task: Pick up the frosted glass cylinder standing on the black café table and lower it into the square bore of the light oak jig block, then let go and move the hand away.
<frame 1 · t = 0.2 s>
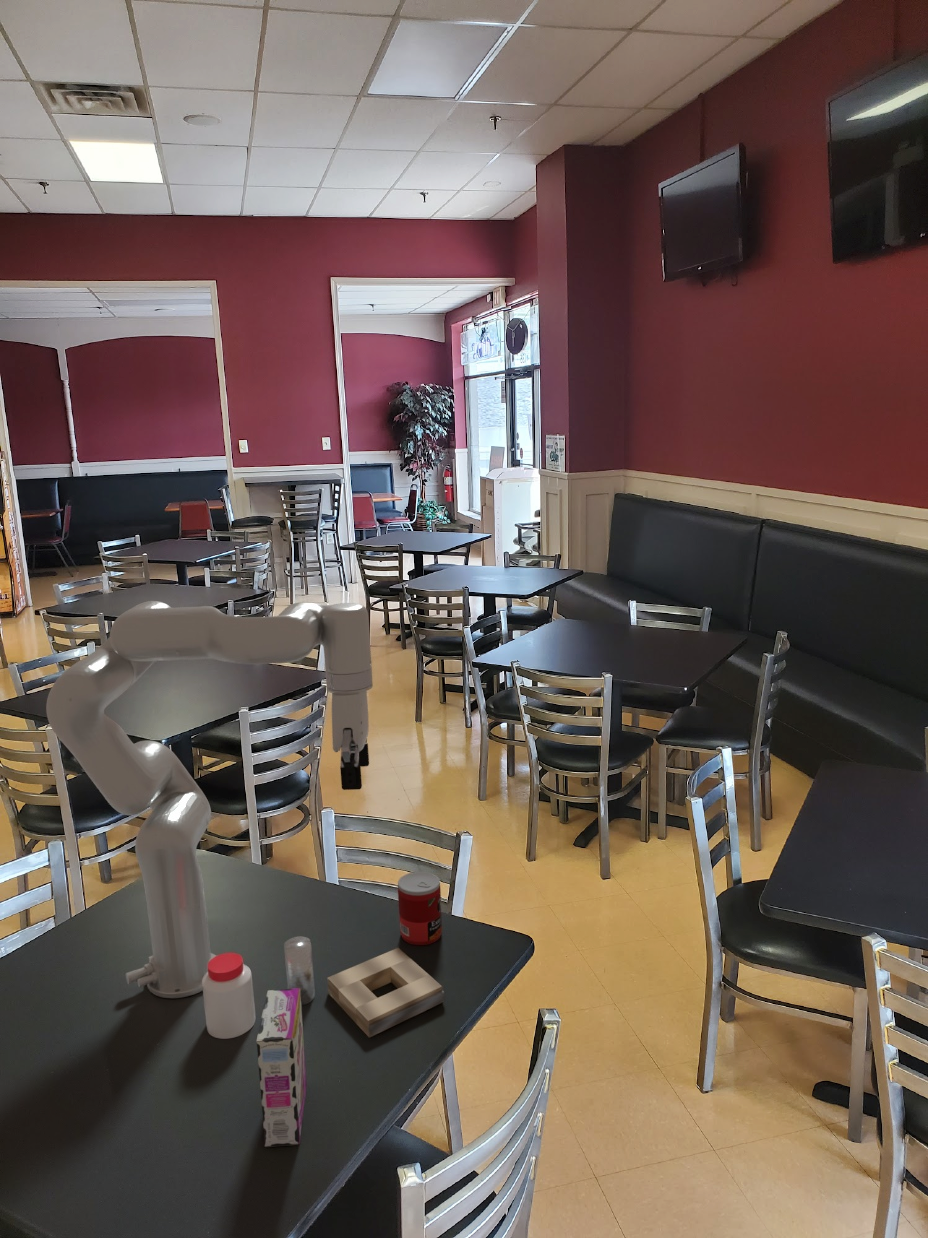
hand: (356, 777, 148), 36 cm above the table, tool pointing down, fingers open, 9 cm apart
pill bottle: (231, 1024, 143), on the table
jig: (385, 998, 148), on the table
frosted glass cylinder: (301, 997, 149), on the table
canned food: (421, 935, 166), on the table
candy bar box: (288, 1117, 123), on the table
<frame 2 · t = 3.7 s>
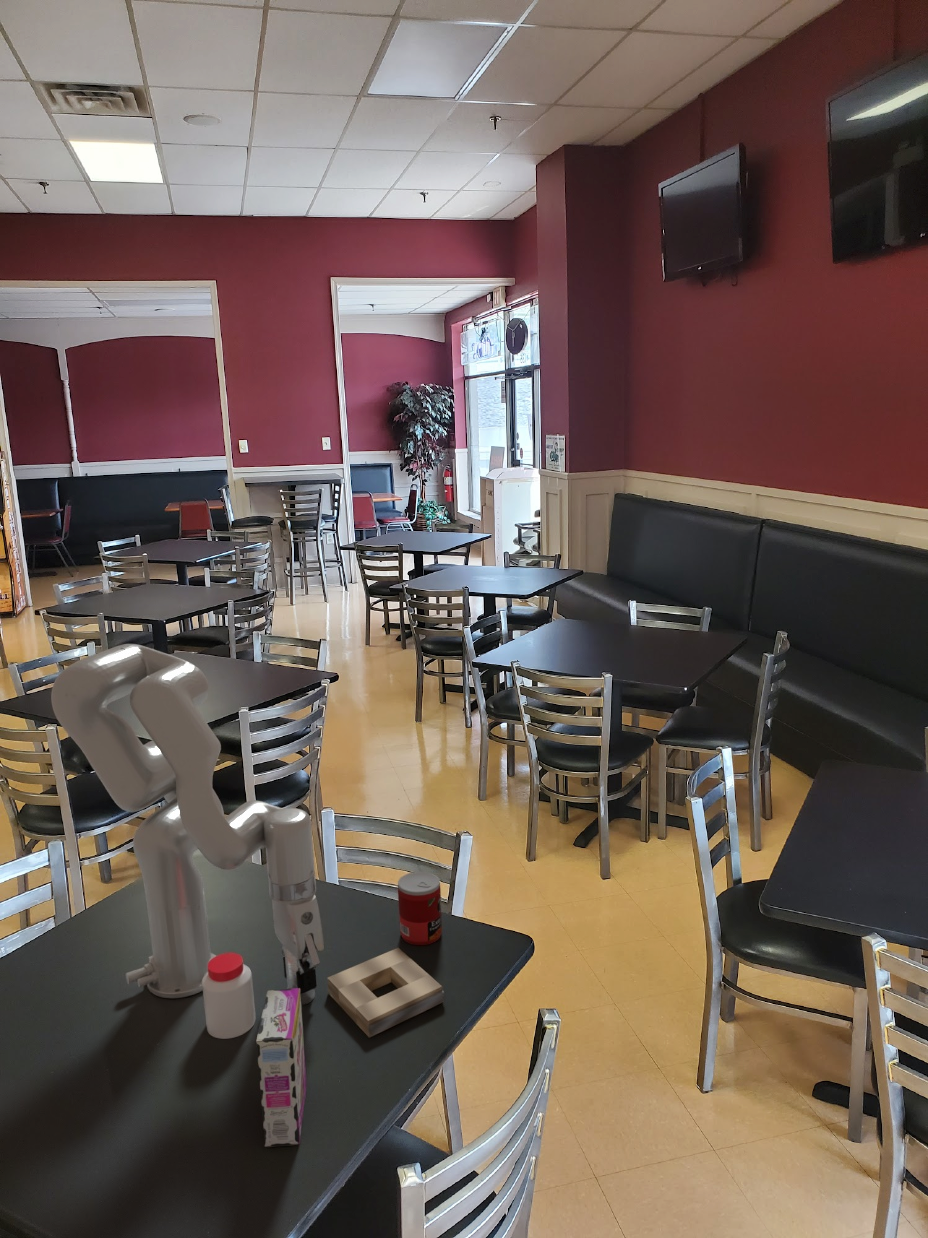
hand: (300, 982, 148), 3 cm above the table, tool pointing down, fingers closed on frosted glass cylinder, 4 cm apart
frosted glass cylinder: (301, 997, 149), on the table, touching gripper
everything else where it was.
when the fingers open (4 cm above the table, at t = 9.0 s): frosted glass cylinder stays where it is, resting in jig.
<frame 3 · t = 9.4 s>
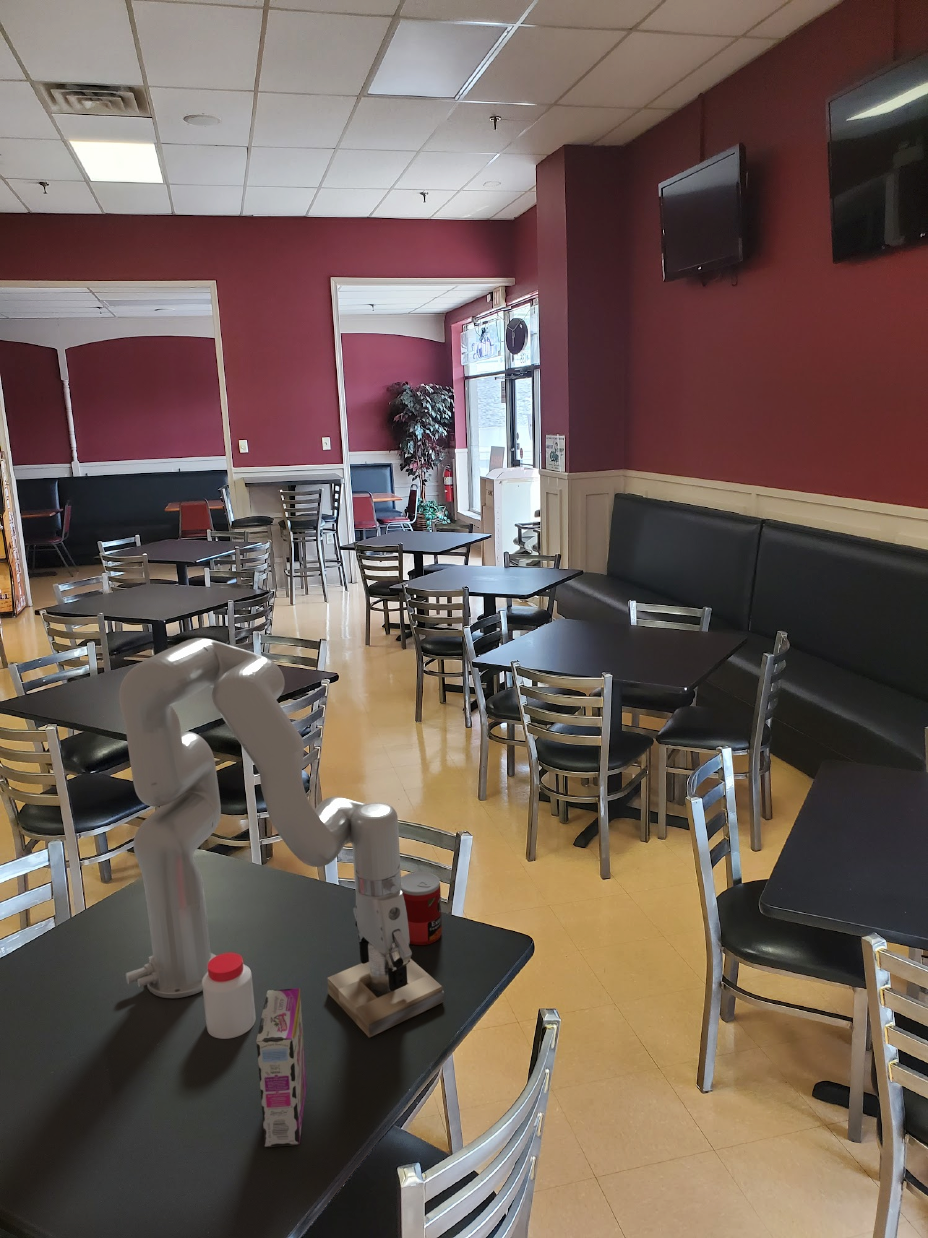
hand: (383, 973, 147), 5 cm above the table, tool pointing down, fingers open, 9 cm apart
frosted glass cylinder: (384, 997, 148), resting in jig
everything else where it was.
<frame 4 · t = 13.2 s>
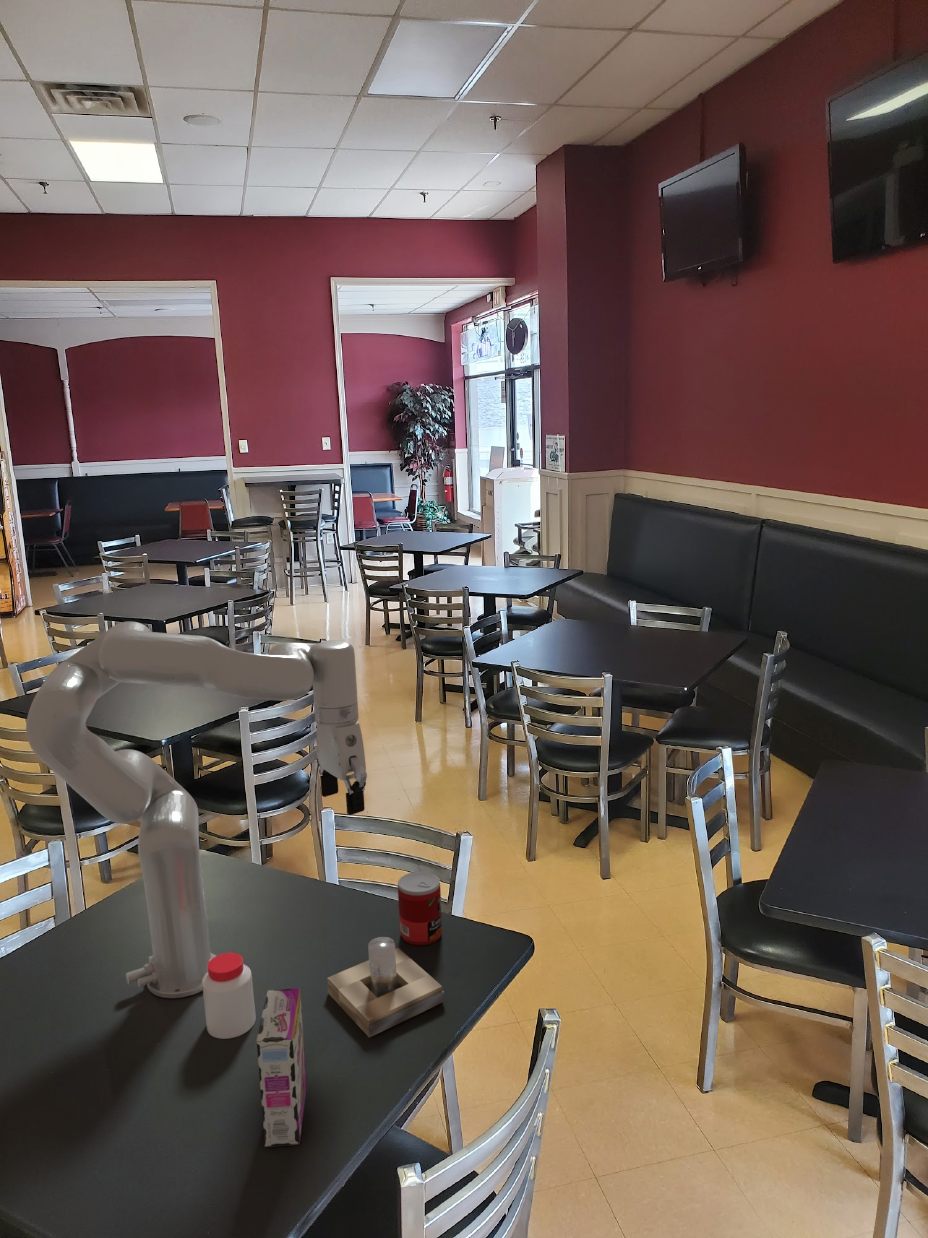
hand: (342, 803, 157), 28 cm above the table, tool pointing down, fingers open, 9 cm apart
nothing on the table moved.
at the end: frosted glass cylinder 0.1 cm off-centre on the jig, point 0.0 cm above the jig's base; frosted glass cylinder tilted 0°; the gripper is holding nothing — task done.
